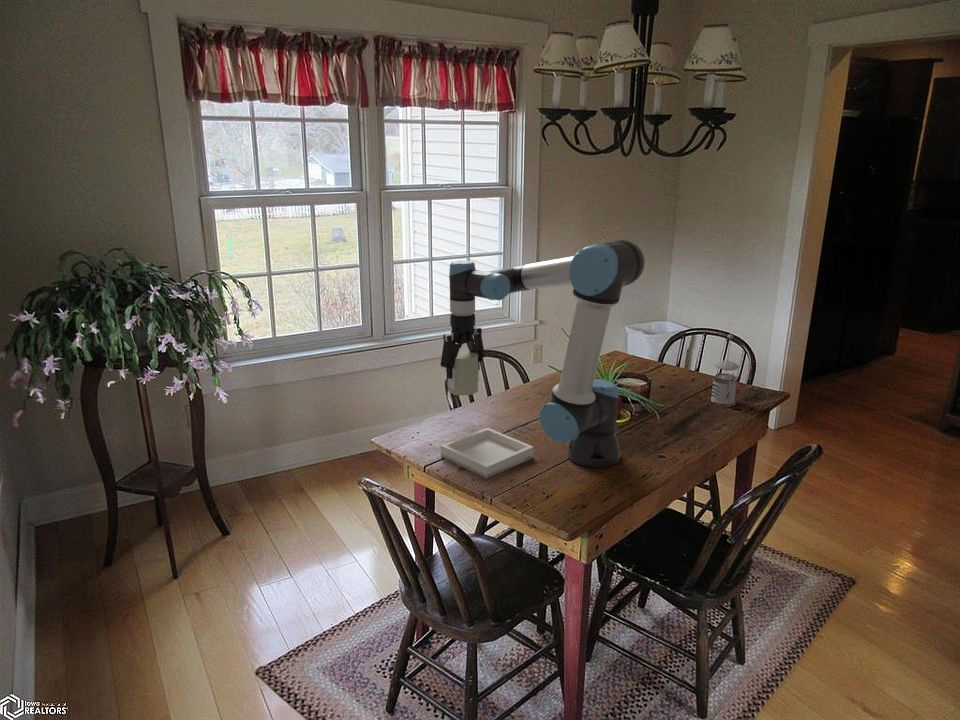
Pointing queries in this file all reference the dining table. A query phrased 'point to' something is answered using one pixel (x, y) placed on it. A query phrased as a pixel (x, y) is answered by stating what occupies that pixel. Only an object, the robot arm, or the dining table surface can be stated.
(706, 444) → the dining table surface
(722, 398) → the french press
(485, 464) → the tray
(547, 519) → the dining table surface
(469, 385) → the can
